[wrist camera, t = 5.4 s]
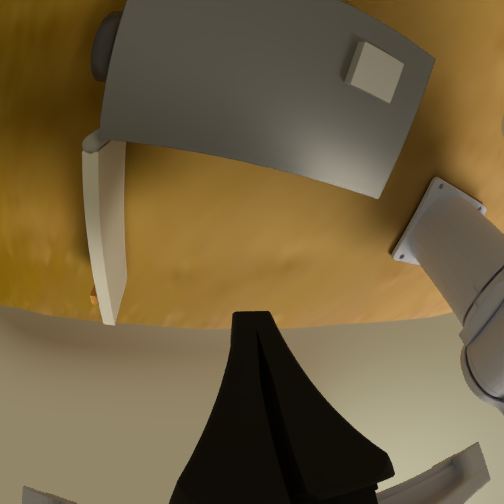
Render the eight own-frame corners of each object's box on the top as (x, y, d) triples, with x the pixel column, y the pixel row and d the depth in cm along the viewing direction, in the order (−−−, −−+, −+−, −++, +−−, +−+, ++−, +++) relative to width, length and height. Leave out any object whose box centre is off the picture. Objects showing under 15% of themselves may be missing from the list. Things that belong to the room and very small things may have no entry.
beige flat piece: (127, 278, 20) (114, 325, 16) (105, 276, 19) (90, 321, 16) (128, 116, 13) (99, 135, 9) (99, 115, 13) (62, 135, 9)
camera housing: (382, 53, 12) (443, 60, 8) (340, 163, 17) (384, 205, 12) (143, -14, 9) (111, -46, 4) (111, 114, 13) (67, 140, 9)
